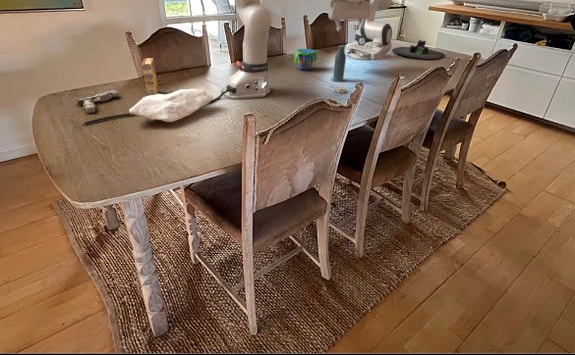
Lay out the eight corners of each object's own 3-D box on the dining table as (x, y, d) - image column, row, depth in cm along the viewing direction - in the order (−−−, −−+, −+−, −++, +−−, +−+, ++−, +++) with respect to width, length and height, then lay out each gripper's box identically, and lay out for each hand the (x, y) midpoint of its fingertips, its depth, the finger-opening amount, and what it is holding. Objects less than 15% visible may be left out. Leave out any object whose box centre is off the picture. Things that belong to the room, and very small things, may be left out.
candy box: (157, 97, 164) (152, 63, 155) (147, 98, 163) (141, 63, 155) (158, 91, 171) (153, 57, 163) (149, 91, 170) (143, 58, 162)
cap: (335, 90, 181) (335, 86, 181) (343, 90, 182) (343, 86, 181) (337, 93, 178) (337, 89, 177) (345, 93, 179) (345, 89, 178)
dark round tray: (454, 55, 249) (457, 41, 244) (422, 61, 231) (424, 46, 227) (413, 47, 273) (415, 35, 269) (381, 52, 256) (382, 39, 252)
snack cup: (310, 64, 218) (311, 47, 212) (321, 69, 211) (322, 51, 205) (288, 68, 210) (289, 50, 205) (299, 73, 203) (300, 54, 198)
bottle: (340, 78, 198) (344, 44, 189) (344, 81, 194) (348, 47, 184) (331, 78, 197) (334, 44, 188) (335, 81, 193) (338, 47, 183)
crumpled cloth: (117, 110, 146) (113, 90, 140) (195, 92, 166) (194, 73, 160) (143, 139, 134) (140, 118, 128) (223, 116, 154) (224, 96, 148)
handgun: (128, 97, 156) (111, 87, 164) (86, 107, 144) (70, 97, 152) (129, 103, 157) (113, 94, 165) (88, 114, 146) (72, 103, 154)
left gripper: (335, -3, 151) (331, 32, 158) (375, -4, 159) (370, 30, 166) (327, -5, 155) (324, 29, 163) (366, -6, 163) (361, 27, 171)
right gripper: (356, 40, 209) (340, 43, 201) (386, 48, 196) (370, 52, 189) (354, 51, 212) (339, 55, 204) (383, 60, 200) (368, 64, 192)
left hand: (347, 30), depth 165 cm, fingers open, 8 cm apart
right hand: (354, 54), depth 196 cm, fingers open, 8 cm apart
